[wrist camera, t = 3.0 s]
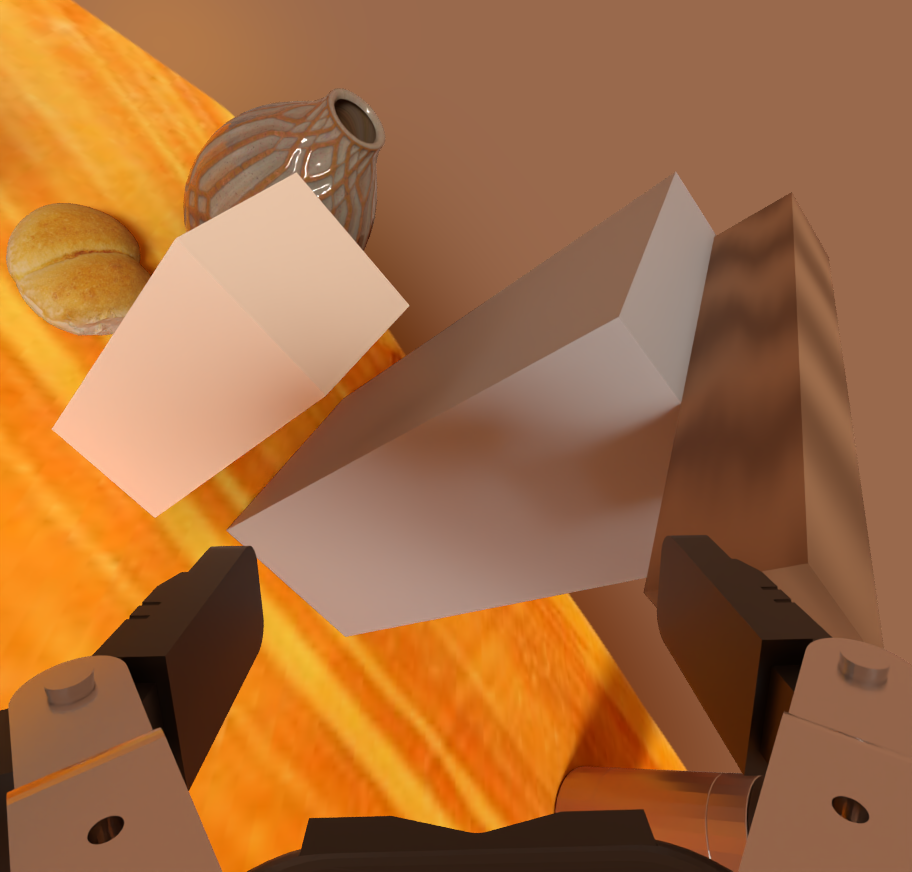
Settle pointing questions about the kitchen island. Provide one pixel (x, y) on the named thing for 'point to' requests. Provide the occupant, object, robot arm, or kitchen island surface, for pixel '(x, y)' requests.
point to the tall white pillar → (503, 439)
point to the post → (228, 344)
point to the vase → (293, 159)
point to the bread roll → (76, 267)
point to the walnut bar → (773, 427)
